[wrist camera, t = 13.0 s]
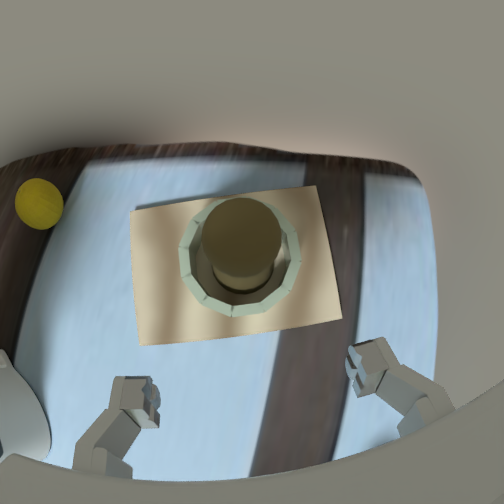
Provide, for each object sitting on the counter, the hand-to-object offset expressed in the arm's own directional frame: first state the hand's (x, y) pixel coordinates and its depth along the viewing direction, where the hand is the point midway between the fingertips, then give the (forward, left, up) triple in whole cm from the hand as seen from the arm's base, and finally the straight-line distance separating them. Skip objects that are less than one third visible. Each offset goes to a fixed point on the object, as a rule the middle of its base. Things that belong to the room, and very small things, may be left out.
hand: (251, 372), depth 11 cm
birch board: (-1, +8, -17) cm, 19 cm away
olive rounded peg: (+1, +7, -16) cm, 18 cm away
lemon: (-22, +17, -17) cm, 32 cm away
